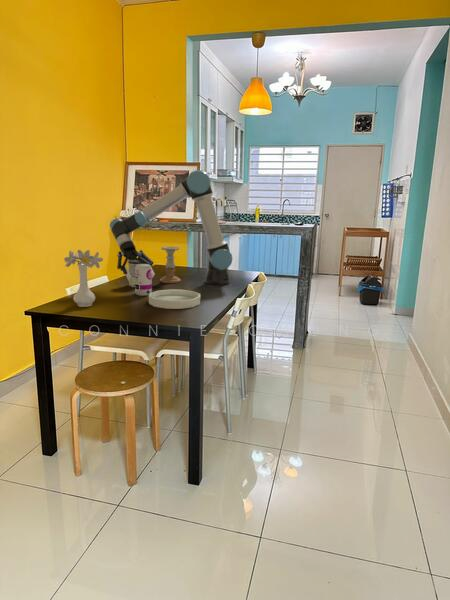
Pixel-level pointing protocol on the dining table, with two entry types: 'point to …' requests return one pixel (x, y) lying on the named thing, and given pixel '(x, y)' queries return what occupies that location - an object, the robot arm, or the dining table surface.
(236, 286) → the dining table surface
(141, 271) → the supplement can
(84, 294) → the flower vase
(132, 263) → the coffee can
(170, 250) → the candle holder
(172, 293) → the ceramic bowl
